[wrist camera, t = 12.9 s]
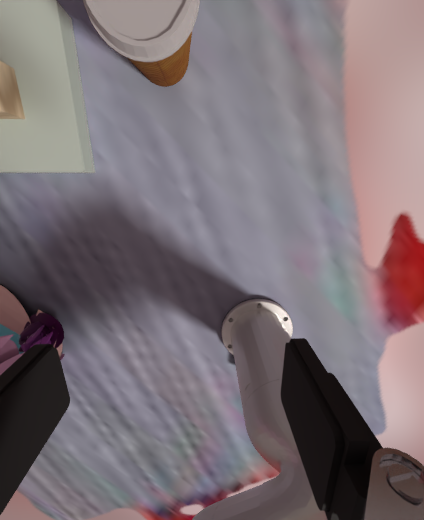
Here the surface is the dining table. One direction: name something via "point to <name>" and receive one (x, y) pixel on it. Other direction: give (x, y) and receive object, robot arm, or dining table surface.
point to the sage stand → (43, 91)
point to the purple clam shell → (24, 330)
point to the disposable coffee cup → (148, 33)
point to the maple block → (9, 94)
